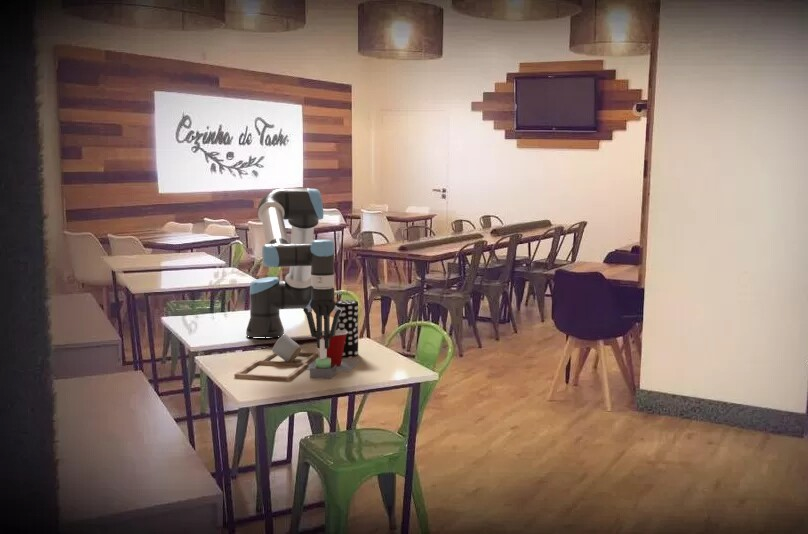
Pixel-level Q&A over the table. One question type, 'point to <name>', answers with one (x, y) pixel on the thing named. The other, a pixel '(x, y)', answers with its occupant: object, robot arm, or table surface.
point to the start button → (323, 362)
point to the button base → (323, 372)
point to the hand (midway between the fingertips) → (323, 358)
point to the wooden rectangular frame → (266, 361)
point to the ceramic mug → (286, 348)
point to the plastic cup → (336, 346)
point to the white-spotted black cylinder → (349, 326)
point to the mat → (344, 367)
